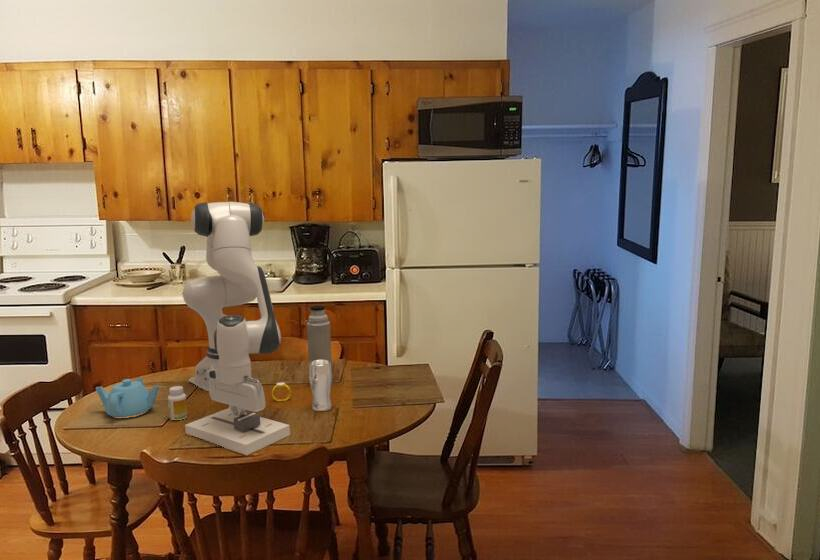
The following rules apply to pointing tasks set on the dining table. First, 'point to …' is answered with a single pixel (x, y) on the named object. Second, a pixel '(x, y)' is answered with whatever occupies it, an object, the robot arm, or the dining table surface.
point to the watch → (281, 386)
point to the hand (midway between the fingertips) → (238, 420)
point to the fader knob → (246, 421)
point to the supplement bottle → (177, 403)
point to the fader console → (237, 432)
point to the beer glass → (320, 384)
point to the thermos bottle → (319, 336)
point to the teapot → (128, 398)
